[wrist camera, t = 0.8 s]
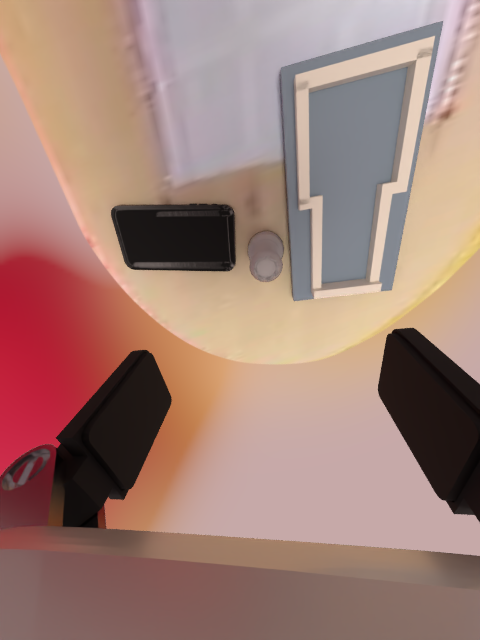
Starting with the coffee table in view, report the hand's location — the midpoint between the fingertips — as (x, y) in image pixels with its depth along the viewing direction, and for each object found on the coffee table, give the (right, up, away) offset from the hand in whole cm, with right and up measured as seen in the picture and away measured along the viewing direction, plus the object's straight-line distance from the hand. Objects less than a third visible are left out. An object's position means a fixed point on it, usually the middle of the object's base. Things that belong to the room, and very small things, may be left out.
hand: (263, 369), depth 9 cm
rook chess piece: (+2, +11, +19) cm, 22 cm away
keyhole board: (+10, +15, +15) cm, 24 cm away
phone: (-9, +13, +20) cm, 25 cm away
